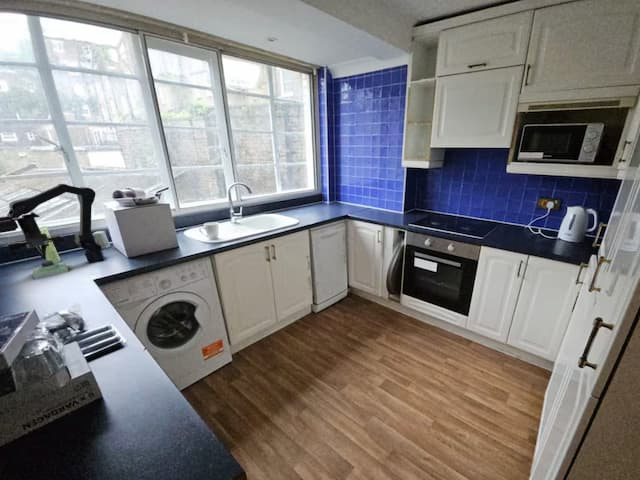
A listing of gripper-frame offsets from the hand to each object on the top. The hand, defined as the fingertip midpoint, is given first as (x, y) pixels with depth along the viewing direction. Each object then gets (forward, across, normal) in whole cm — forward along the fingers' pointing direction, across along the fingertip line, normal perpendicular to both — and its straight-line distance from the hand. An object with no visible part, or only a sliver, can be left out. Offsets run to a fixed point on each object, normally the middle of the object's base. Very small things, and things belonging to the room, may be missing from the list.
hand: (44, 258), depth 144 cm
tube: (+8, +2, +19) cm, 21 cm away
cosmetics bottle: (+8, +25, +28) cm, 39 cm away
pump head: (+4, 0, 0) cm, 4 cm away
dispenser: (+7, 0, 0) cm, 7 cm away
